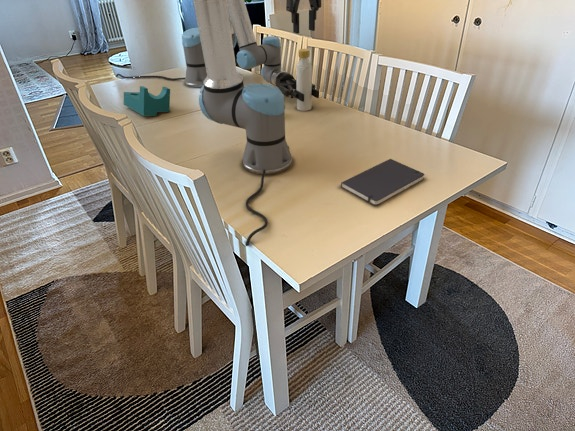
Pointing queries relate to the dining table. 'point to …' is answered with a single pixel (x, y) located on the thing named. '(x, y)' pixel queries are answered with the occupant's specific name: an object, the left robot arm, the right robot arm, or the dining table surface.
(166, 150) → the dining table surface
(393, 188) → the notebook
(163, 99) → the teal notched cradle block
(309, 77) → the bottle
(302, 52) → the cap
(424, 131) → the dining table surface
